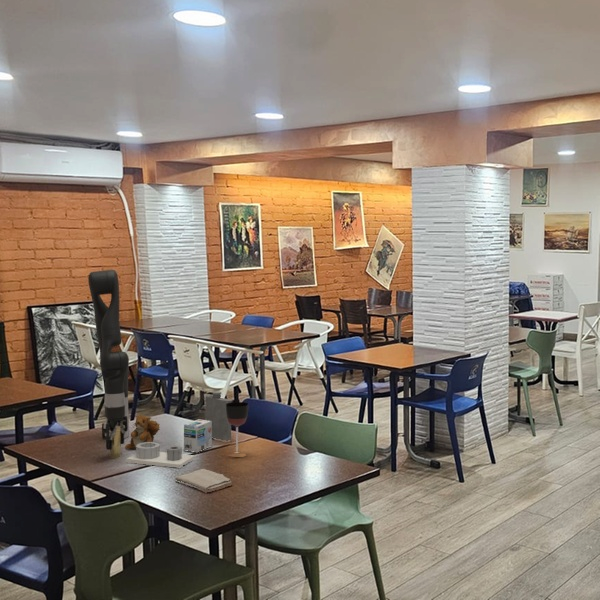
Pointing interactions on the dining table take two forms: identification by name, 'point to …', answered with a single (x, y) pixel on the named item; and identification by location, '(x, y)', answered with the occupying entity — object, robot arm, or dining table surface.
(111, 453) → the brass cylinder
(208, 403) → the grey upright flat block
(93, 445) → the dining table surface
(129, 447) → the stuffed squirrel
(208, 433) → the light bulb box
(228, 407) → the wineglass
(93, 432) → the dining table surface
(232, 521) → the dining table surface
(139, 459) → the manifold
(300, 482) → the dining table surface
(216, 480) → the washcloth
